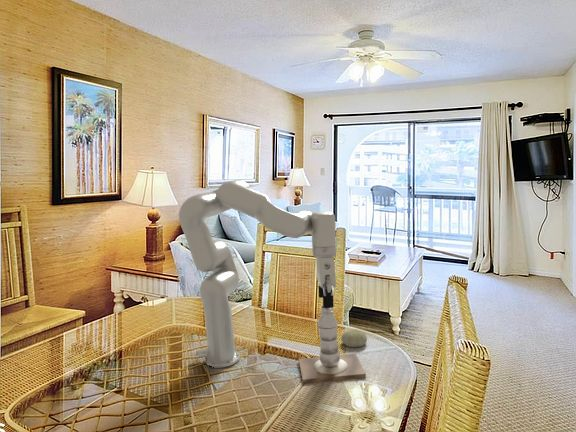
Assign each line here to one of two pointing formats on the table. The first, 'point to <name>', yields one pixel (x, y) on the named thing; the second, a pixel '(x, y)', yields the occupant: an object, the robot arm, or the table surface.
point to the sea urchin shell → (354, 338)
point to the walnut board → (331, 369)
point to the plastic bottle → (328, 338)
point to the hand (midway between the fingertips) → (325, 302)
